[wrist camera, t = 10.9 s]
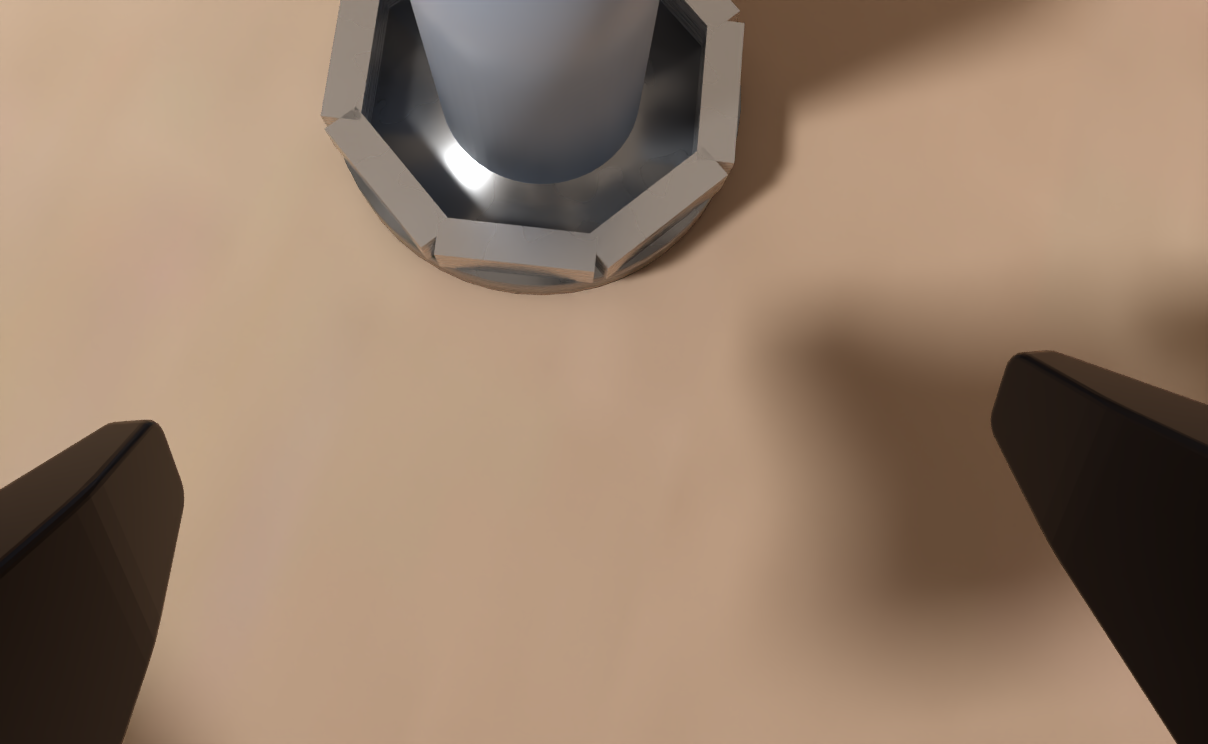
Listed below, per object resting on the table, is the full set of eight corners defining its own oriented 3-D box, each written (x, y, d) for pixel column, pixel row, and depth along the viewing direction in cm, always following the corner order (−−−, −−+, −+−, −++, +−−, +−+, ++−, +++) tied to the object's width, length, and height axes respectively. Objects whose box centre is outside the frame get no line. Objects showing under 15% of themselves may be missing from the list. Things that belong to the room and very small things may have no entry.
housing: (812, 136, 19) (834, 103, 17) (507, 376, 18) (502, 363, 16) (568, -135, 20) (569, -191, 18) (261, 73, 18) (233, 32, 17)
